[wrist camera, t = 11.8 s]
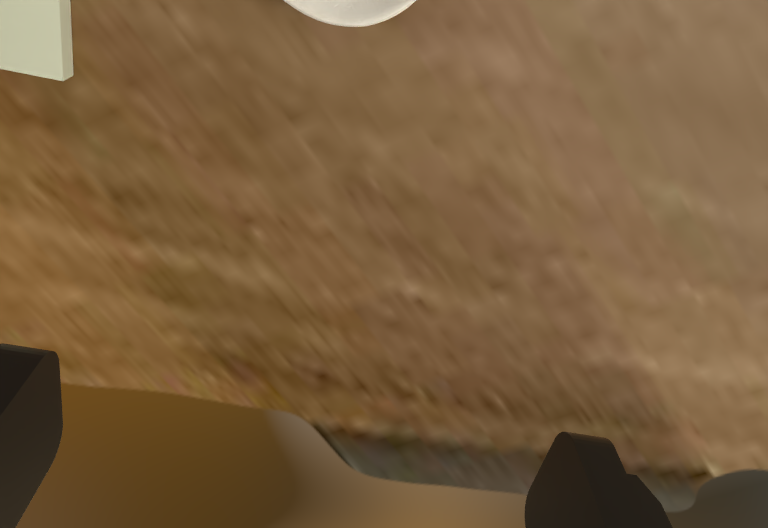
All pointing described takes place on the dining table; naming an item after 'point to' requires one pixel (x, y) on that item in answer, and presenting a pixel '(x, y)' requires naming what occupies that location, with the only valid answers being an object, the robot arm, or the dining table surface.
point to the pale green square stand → (36, 38)
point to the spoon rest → (350, 10)
